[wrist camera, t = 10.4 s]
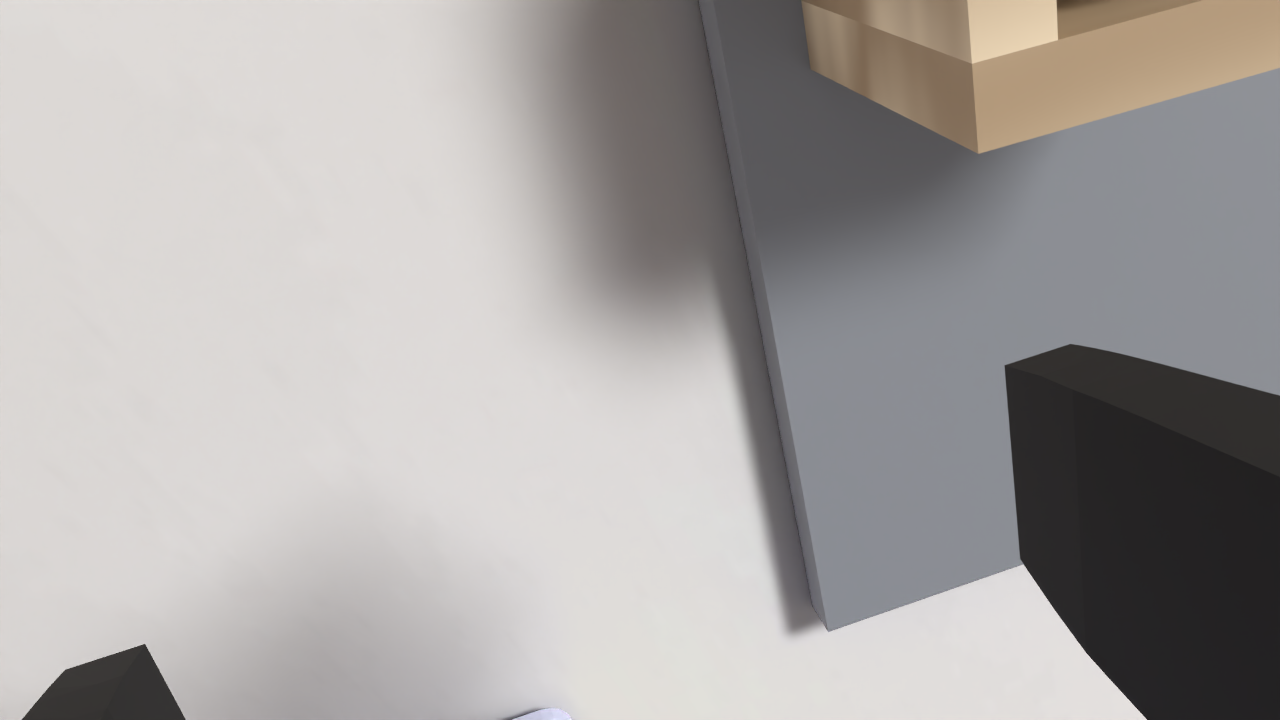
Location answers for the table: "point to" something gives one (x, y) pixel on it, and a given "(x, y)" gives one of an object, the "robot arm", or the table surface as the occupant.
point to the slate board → (971, 290)
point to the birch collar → (1034, 58)
